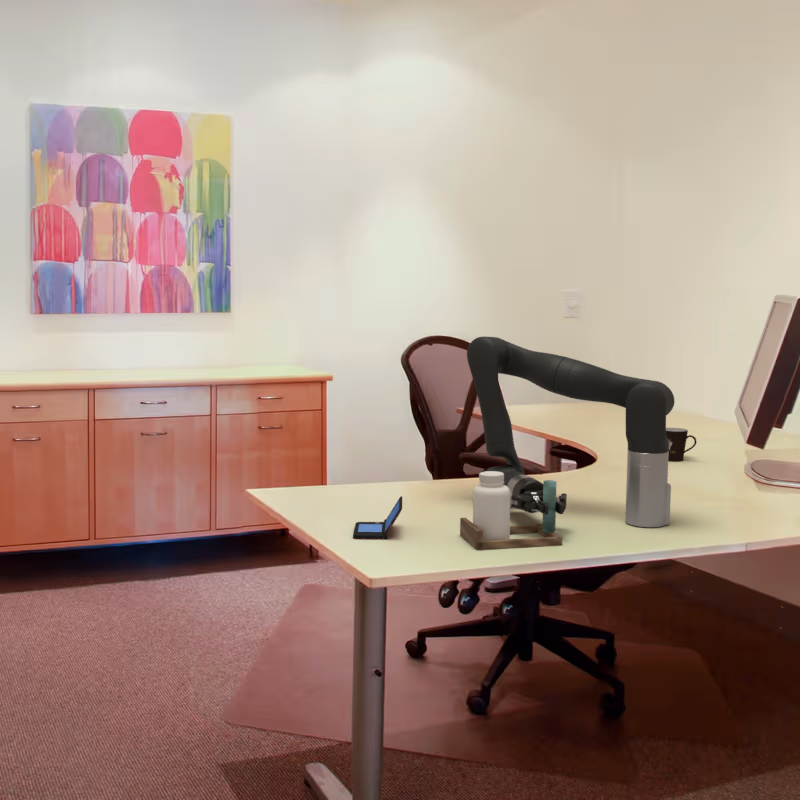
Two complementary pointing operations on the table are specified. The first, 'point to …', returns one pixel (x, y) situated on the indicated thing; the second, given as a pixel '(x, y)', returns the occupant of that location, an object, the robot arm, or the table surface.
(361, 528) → the handheld game console
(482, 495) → the pill bottle
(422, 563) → the table surface
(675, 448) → the coffee mug
